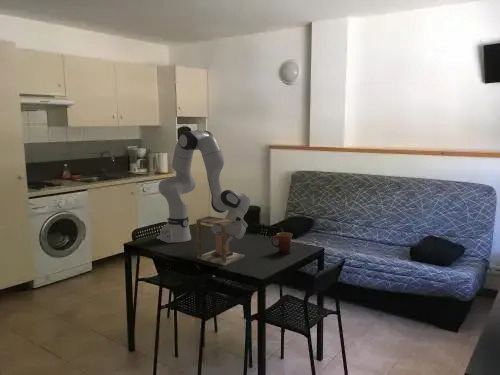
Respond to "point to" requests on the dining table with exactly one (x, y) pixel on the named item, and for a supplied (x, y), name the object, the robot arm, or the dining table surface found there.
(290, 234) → the mug
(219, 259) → the dock
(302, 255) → the dining table surface
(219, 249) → the block
